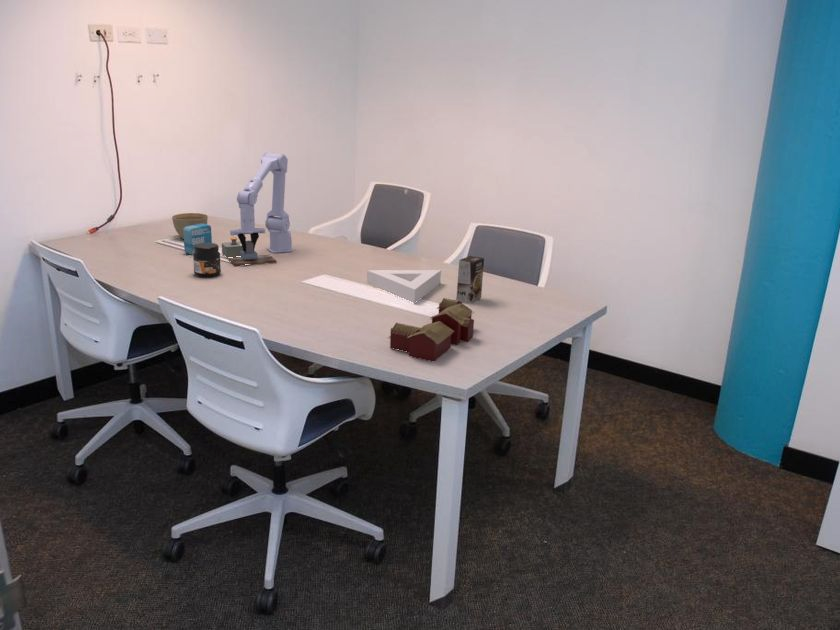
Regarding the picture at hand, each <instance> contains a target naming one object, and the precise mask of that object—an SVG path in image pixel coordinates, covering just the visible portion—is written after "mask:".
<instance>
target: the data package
mask: <svg viewBox="0 0 840 630" xmlns="http://www.w3.org/2000/svg"><path fill="white" fill-rule="evenodd" d="M183 234H184V240H183V247H184V248H183V249H184V253H186V254H188V255H192V256H193V253H194V252H195V251H194V245H196V244H199V243H213V241H212V238H213V237H212V226H211V225H209V224H207V225H206V224H197V225H192V226H187V227H185V228H184V229H183Z"/></svg>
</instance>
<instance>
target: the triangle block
mask: <svg viewBox="0 0 840 630" xmlns="http://www.w3.org/2000/svg"><path fill="white" fill-rule="evenodd" d="M441 277H442V269H404V270H403V269H392V270H391V269H387V270H385V269H381V270H379V269H372V270H371V269H369V270H368V269H367V270H366V284H367V283H368V284H370V285H373V286H375V287H377V288H380V289H382V290H385V291H387V292H390V293H392V294H394V295H397V296H399V297H401V298H404V299H406V300H409V301H411V302H413V303H415V302H416V301H418V300H419V299H420V298H422V297H423V296H424V295H425V296H427V295H428V294H429V293H430V292H432V291H433V290H434V289H436V288H437V287H438V286H439V285H441V279H442V278H441ZM368 284H367V285H368ZM370 285H369V286H370ZM437 285H438V286H437ZM436 286H437V287H436ZM375 287H374V288H375ZM377 288H376V289H377ZM432 289H433V290H432ZM382 290H381V291H382ZM431 290H432V291H431ZM428 292H429V293H428ZM427 293H428V294H427ZM426 294H427V295H426ZM425 296H424V297H425ZM424 297H423V298H424ZM423 298H422V299H423ZM420 300H421V299H420ZM420 300H419V301H420ZM419 301H418V302H419ZM416 303H417V302H416ZM416 303H415V304H416Z"/></svg>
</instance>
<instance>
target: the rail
mask: <svg viewBox="0 0 840 630" xmlns="http://www.w3.org/2000/svg"><path fill="white" fill-rule="evenodd" d="M229 260H230V261H231V262H230V261H229ZM228 261H229V262H230V264H231V265H232V266H234V267H241V266H240V265H245V264H258V265H266V264H265V263H269V264H277V260H276V258H274V257H273V255H272V254H262V255H261V254H260V255H259V254H258V258H257V259H254V260H243V258H241V257H233V258H228Z"/></svg>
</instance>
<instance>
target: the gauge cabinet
mask: <svg viewBox="0 0 840 630" xmlns="http://www.w3.org/2000/svg"><path fill="white" fill-rule="evenodd" d="M240 251H243V248H242V244H241V242H240V241H236V245H232V241H230V242H229V241H227V242H221V254H222V253H223V254H224V255H225V256H226V257H236V256H240ZM223 254H222V255H223ZM224 255H223V256H224ZM225 256H224V257H225ZM226 257H225V258H226Z"/></svg>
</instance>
